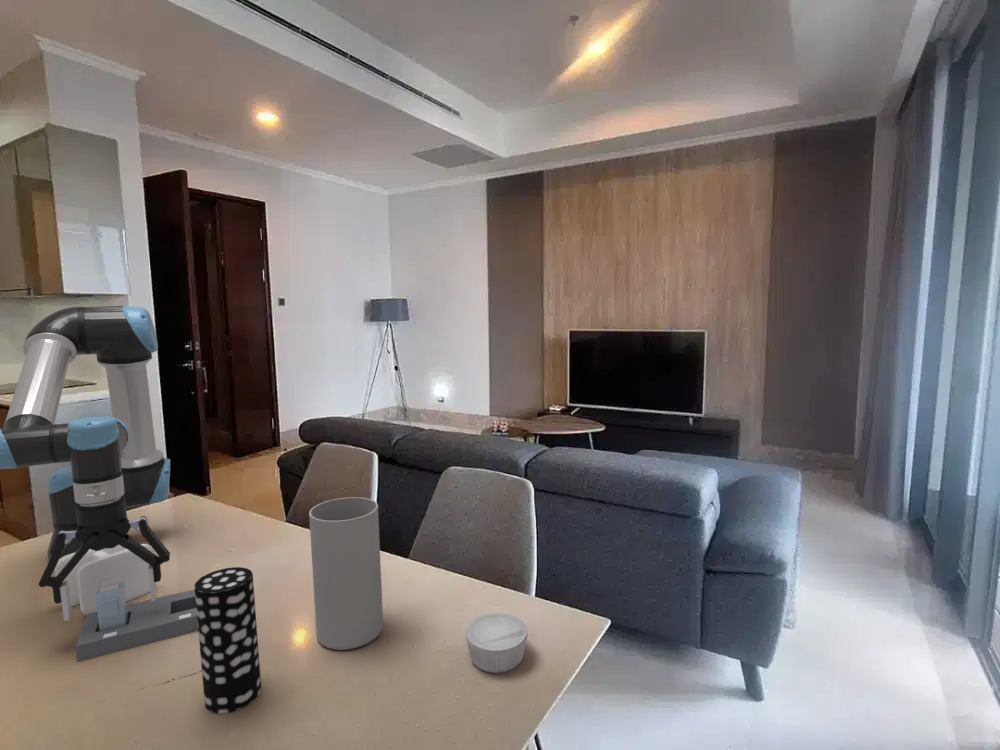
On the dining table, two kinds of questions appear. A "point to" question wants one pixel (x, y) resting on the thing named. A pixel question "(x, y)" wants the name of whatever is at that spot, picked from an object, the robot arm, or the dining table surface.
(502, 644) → the ramekin
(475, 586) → the dining table surface
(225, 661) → the spotted tube
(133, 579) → the cable organizer
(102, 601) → the plug
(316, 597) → the cylinder vase
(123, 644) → the socket panel
